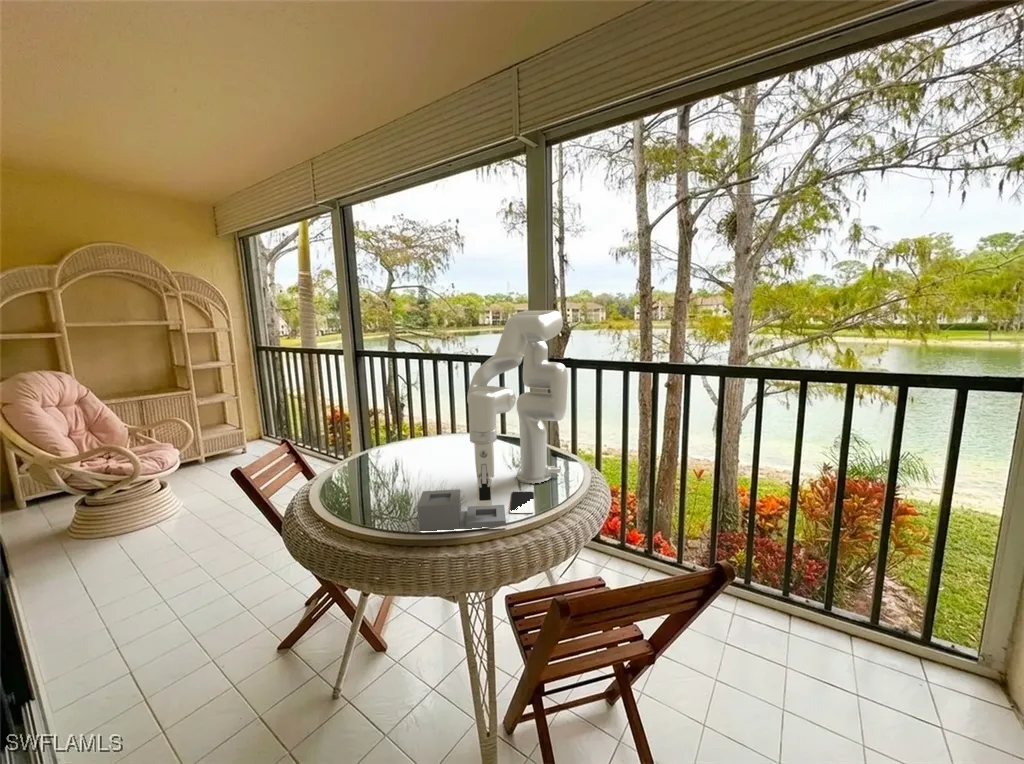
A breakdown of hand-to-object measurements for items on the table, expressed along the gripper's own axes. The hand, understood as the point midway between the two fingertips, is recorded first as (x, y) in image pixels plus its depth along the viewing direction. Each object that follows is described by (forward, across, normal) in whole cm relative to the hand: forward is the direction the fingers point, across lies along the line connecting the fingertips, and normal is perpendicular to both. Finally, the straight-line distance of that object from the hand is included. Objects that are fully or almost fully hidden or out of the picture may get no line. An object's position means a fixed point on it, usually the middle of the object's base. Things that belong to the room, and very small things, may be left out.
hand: (485, 496), depth 121 cm
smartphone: (+8, +11, -12) cm, 18 cm away
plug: (+2, 0, 0) cm, 2 cm away
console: (+8, 0, +6) cm, 10 cm away
